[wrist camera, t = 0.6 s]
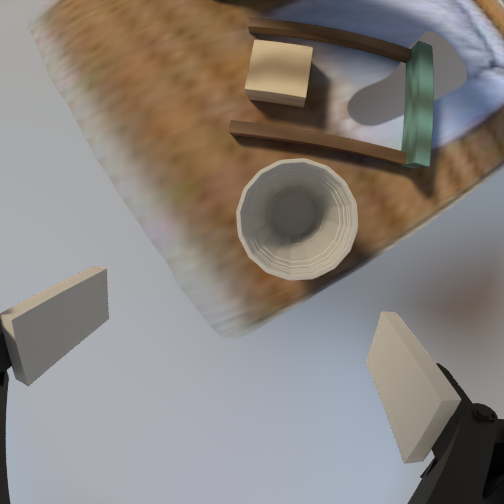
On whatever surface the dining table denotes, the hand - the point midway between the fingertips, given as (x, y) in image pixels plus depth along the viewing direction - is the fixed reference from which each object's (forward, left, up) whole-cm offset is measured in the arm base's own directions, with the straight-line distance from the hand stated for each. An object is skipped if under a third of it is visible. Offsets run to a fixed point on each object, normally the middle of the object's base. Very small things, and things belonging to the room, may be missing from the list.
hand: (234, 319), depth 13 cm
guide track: (-21, +5, -26) cm, 33 cm away
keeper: (-21, -1, -26) cm, 33 cm away
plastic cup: (-4, +3, -26) cm, 26 cm away
